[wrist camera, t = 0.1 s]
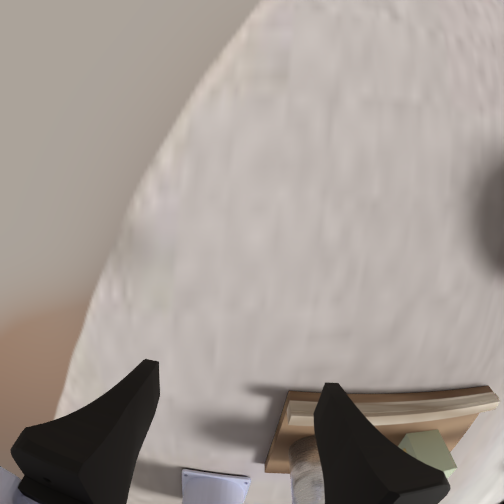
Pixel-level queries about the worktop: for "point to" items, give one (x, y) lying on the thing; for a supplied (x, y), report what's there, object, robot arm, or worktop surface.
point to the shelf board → (385, 417)
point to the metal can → (306, 472)
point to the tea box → (429, 450)
